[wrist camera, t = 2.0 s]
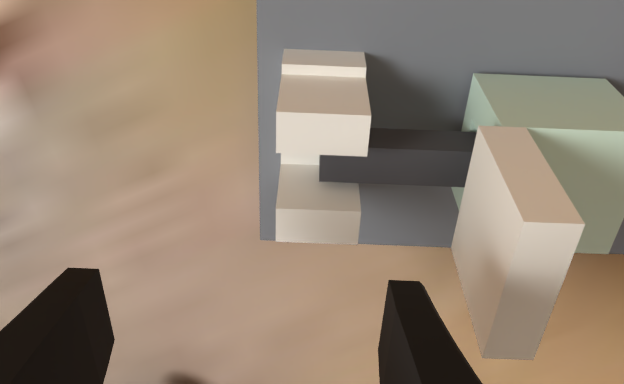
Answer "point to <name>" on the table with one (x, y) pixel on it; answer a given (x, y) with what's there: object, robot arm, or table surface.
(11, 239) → the table surface
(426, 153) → the dark grey bar
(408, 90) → the board
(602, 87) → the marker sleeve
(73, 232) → the table surface
